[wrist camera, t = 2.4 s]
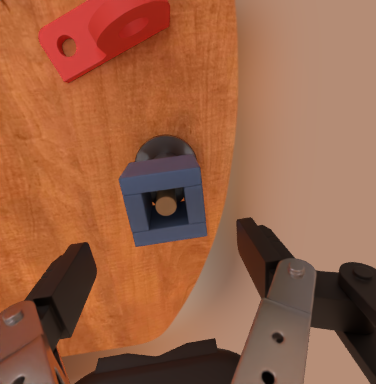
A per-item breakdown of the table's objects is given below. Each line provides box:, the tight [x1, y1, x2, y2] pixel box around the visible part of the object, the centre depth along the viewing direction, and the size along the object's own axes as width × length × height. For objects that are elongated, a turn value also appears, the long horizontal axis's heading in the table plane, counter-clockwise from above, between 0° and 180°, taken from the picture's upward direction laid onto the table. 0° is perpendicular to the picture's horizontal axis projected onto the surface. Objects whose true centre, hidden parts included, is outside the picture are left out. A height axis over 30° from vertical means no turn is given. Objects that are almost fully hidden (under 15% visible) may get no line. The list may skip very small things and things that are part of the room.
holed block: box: [119, 154, 207, 247], centre depth 18 cm, size 6×6×4 cm
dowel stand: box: [135, 135, 197, 216], centre depth 22 cm, size 8×8×12 cm
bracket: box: [39, 0, 170, 83], centre depth 18 cm, size 12×4×8 cm, turn 116°
